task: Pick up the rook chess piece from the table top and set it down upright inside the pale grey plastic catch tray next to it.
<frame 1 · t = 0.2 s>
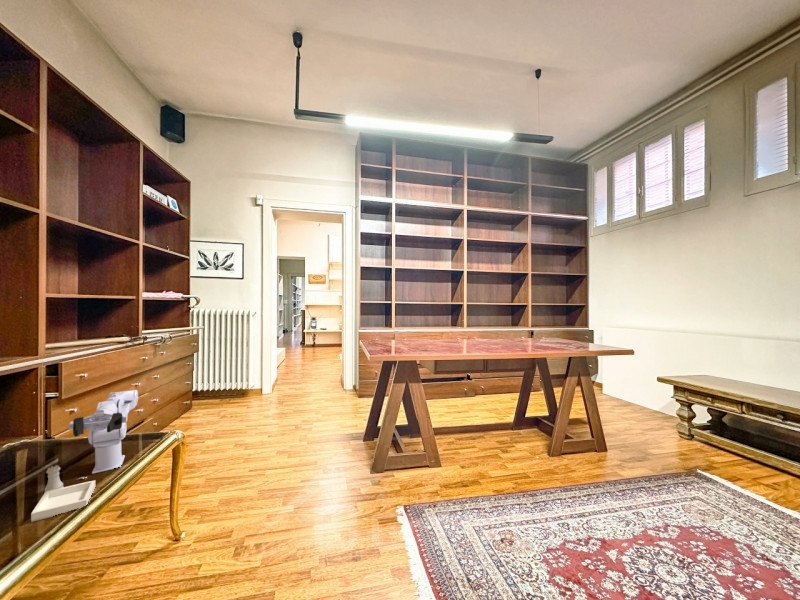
hand: (92, 431, 104), 21 cm above the table, tool horizontal, fingers open, 7 cm apart
catch tray: (66, 503, 102), on the table
rook chess piece: (54, 491, 107), on the table
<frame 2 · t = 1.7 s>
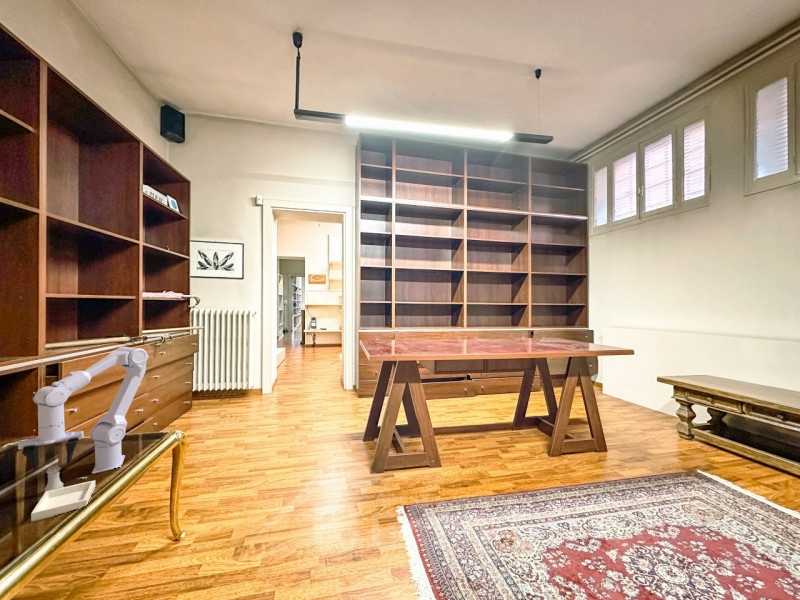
hand: (53, 464, 107), 9 cm above the table, tool pointing down, fingers open, 7 cm apart
nothing on the table moved.
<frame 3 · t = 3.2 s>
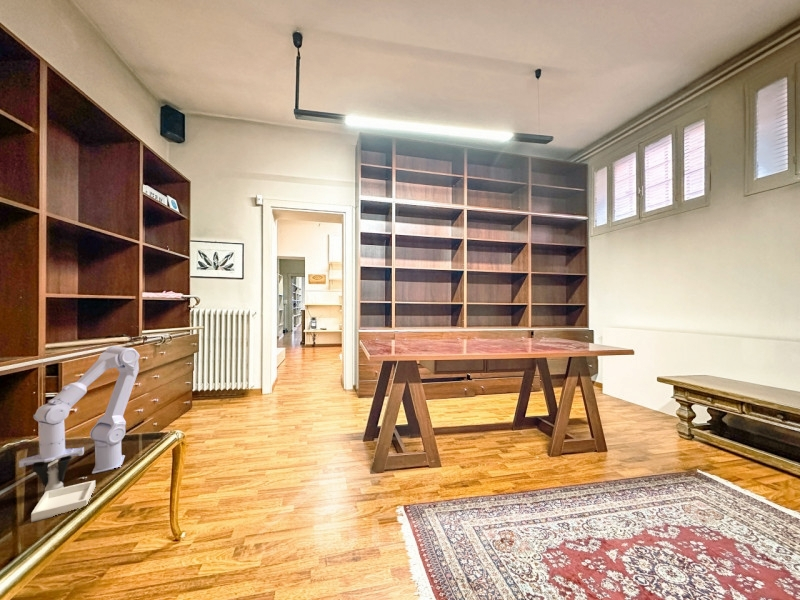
hand: (53, 481, 107), 3 cm above the table, tool pointing down, fingers closed on rook chess piece, 3 cm apart
rook chess piece: (54, 491, 107), on the table, touching gripper
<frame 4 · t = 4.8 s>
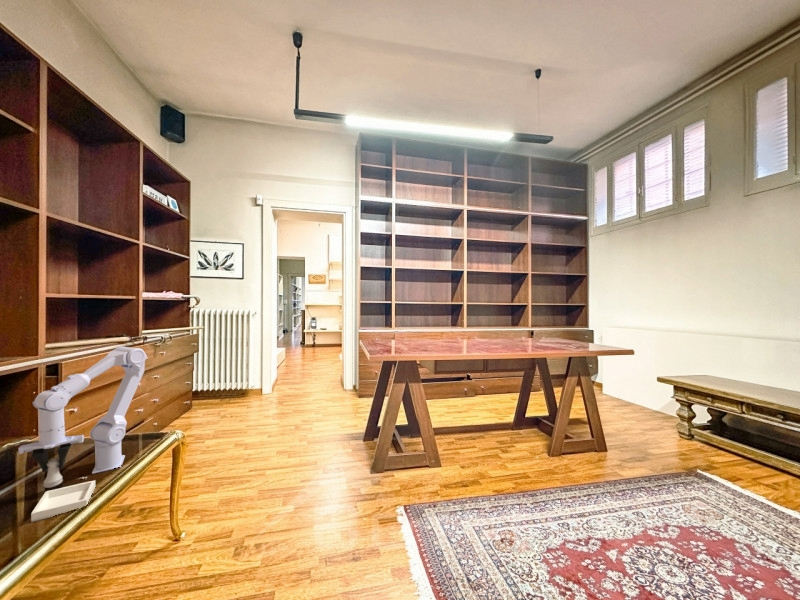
hand: (53, 468, 107), 7 cm above the table, tool pointing down, fingers closed on rook chess piece, 3 cm apart
rook chess piece: (53, 484, 107), point 2 cm above the table, touching gripper
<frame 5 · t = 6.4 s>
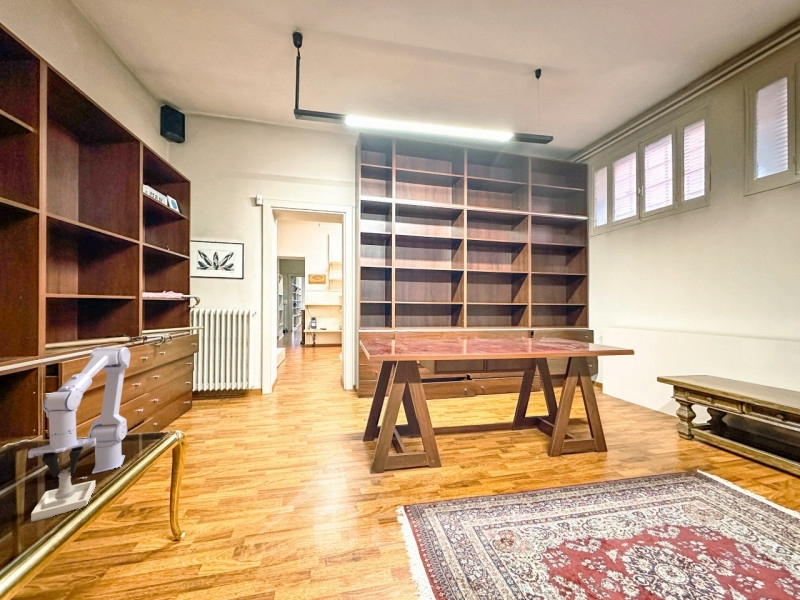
hand: (64, 473, 101), 9 cm above the table, tool pointing down, fingers closed on rook chess piece, 3 cm apart
rook chess piece: (65, 496, 102), point 2 cm above the table, touching gripper
when the fingers open (5 cm above the table, at t = 8.0 s): rook chess piece stays where it is, resting on catch tray.
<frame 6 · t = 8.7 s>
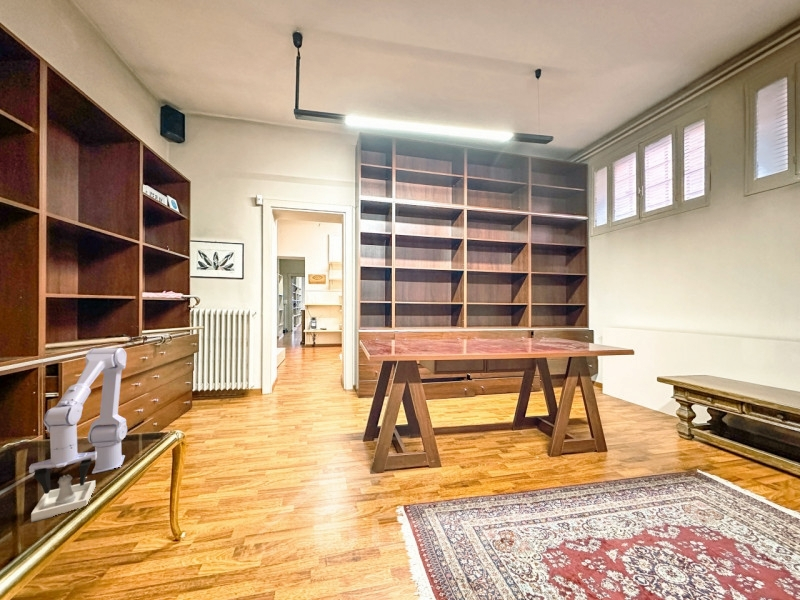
hand: (65, 487, 101), 5 cm above the table, tool pointing down, fingers open, 7 cm apart
rook chess piece: (65, 502, 101), resting on catch tray
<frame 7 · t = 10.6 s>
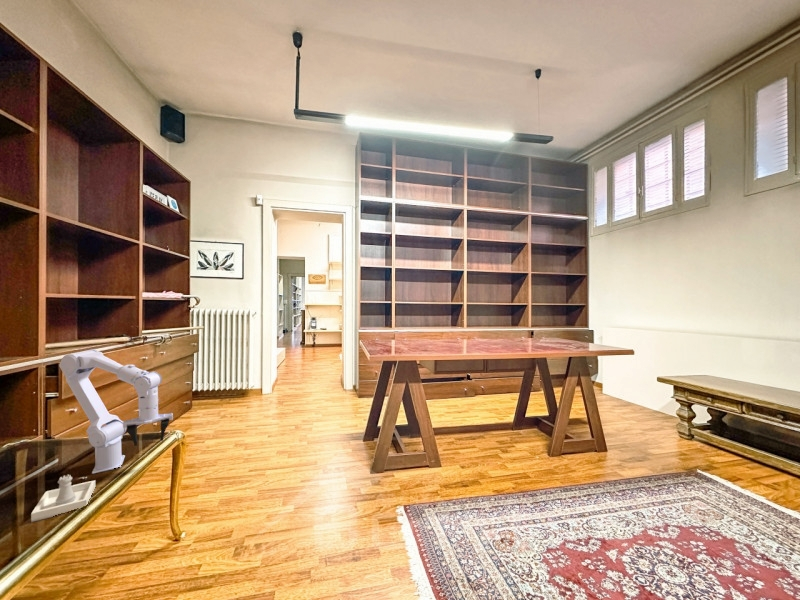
hand: (149, 442, 122), 9 cm above the table, tool pointing down, fingers open, 7 cm apart
nothing on the table moved.
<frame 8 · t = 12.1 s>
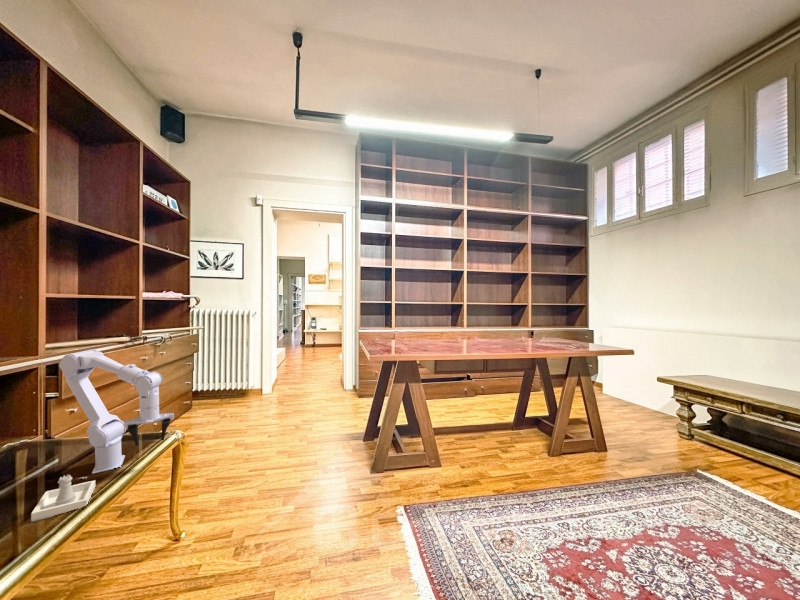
hand: (150, 441, 122), 9 cm above the table, tool pointing down, fingers open, 7 cm apart
nothing on the table moved.
at the end: rook chess piece inside the target area on the catch tray (0.1 cm from its centre), point 0.3 cm above the catch tray's base; rook chess piece tilted 0°; the gripper is holding nothing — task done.
